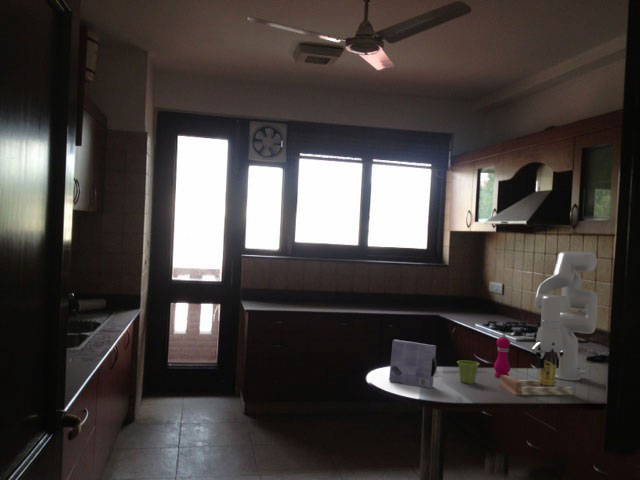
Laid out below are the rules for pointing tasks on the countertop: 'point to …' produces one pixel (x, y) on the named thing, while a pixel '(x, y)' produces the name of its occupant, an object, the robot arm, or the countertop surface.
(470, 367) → the plant pot
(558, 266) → the robot arm
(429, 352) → the cake pan box
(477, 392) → the countertop surface
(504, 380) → the guide track
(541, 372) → the sauce bottle
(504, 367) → the pepper mill
